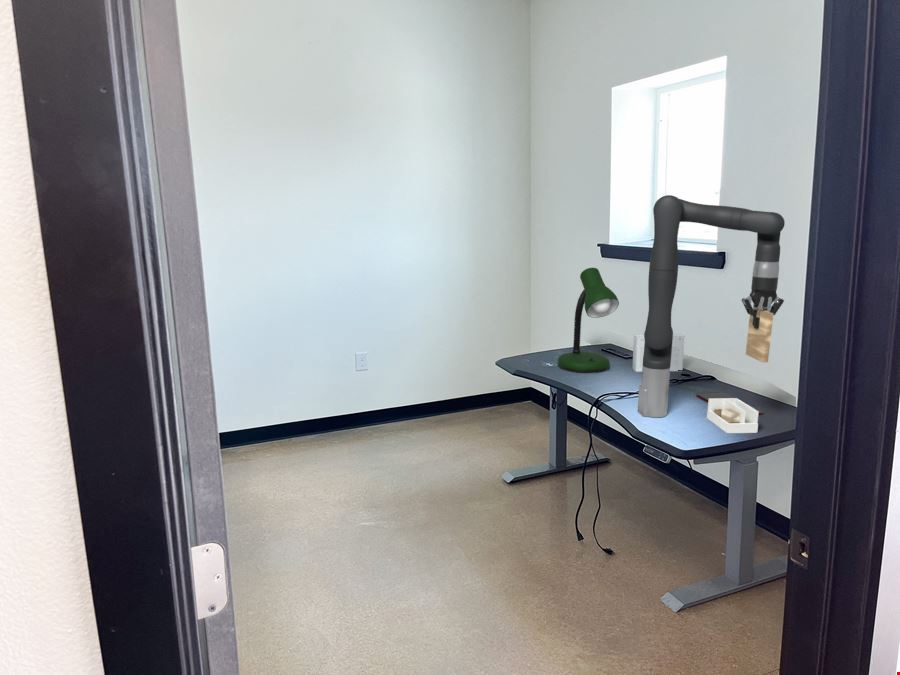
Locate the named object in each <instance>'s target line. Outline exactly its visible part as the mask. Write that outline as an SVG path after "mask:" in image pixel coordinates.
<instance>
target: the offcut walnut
mask: <svg viewBox="0 0 900 675" xmlns="http://www.w3.org/2000/svg"><path fill="white" fill-rule="evenodd" d="M714 413H715V414H717V415H718V416H719V417H721V413H722V409H714Z"/></svg>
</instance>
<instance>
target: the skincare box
mask: <svg viewBox="0 0 900 675" xmlns="http://www.w3.org/2000/svg"><path fill="white" fill-rule="evenodd" d="M644 344H645V338H644V334H633V351H632V370H633V371H634V372H635V373H642V367H643V355H644ZM684 347H685V335H683V334H679V333H678V334H676V333H675V334H674V333H673V341H672V354H671V365H670V372H679V371H678V370H683V367H684V354H685V351H684Z"/></svg>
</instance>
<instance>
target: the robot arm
mask: <svg viewBox="0 0 900 675" xmlns="http://www.w3.org/2000/svg"><path fill="white" fill-rule="evenodd" d="M652 211H653V225H654V226H653V228H654V230H653V231H654V232H653V233H654V234H653V243H652V248H651V254H650V260H649V269H648V279H647V281H648V282H647V283H648V286H647V287H648V290H647V291H648V292H647V293H648V294H647V295H648V315H647V320H646V325H645V328H644V329H645V330H644V334H643V335H644V338H645V344H644V355H643V367H642V372H641V383H640V385H638V398H637V399H638V400H637V412H638V413H639V414H640V415H642V417H648V418H649V417H650V418H664V417H666V416H667V414H668V403H669V402H668V401H669V388H670V376H671V371H670V365H671V354H672V341H673V334H674V331H673V327H672V311H673V310H672V309H673V303H674V300H675V299H674V298H675V296H676V295H675V294H676V290H677V285H678V284H677V283H678V274H679V273H678V272H679V250H678V249H679V248H678V237H679V228H680V224H681V223H695V224H703V225H707V226H710V227H711V226H712V227H715V228H716V227H717V228H719V229H727V230H734V231H742V232H745V231H747V232H751V233H756V234H757V235H756V240H757V242H756V243H757V244H756V249H755V256H754V257H755V258H754V265H753V268H752V276H751V277H752V278H751V286H750V287H751V288H750V289H751V291H750V293H749V296H747V297H746V298H745V297H743V298H742V299H741V302H742V304H743V306H744V308H745V311H746V313H747V315H749V316H750V315H752V316H753V323H752V325H753V326H754V328H756V329H758V328H759V322H760V318H759V317H760V313H761V310H764V311H767V312H770V313H773V316H776V314H777V313H778V311H779V309H780V308H781V306H782V305H783V304H784V303H785V299H784V298H781V297H779V296H778V294H777V290H778V284H779V275H780V274H779V273H780V258H781V256H780V255H781V245H780V240H781V231H783V229H785V222H786V221H785V218H784V217H783V216H782V215H781V214H780V213H778V212H773V211H762V210H752V209H748V208H743V207H736V206H729V205H713V204H703V203H696V202H692V201H688V200H686V199H682V198H679V197H677V196H676V195H672V194H671V195H670V194H668V195H667V194H666V195H663V196H662V197H661V196H660V197H659V199H657V200H656V201H655V203H654V206H653V208H652ZM752 303H753V305H752Z"/></svg>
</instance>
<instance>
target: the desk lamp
mask: <svg viewBox="0 0 900 675" xmlns="http://www.w3.org/2000/svg"><path fill="white" fill-rule="evenodd" d="M579 278H580V282H581V284H582V286H583V287H582V288H583V291H581V293H580V295H579V297H578V298H577V303H576V307H575V311H574V320H573V321H574V326H573V331H574V332H573V342H572V343H573V344H572V345H573V346H572V347H573V349H572V352H567V353H566V352H565V353H563V354H561V355H559V356H558V358H557V366H558V367H559V368H560V369H562V370H564V371H567V372H571V373H572V372H573V373H580V374H581V373H582V374H588V373H589V374H591V373H594V374H595V373H601V372H606V371H609V370H610V368H611V367H610V364H611V363H610V362H611V361H610V359H609V358H608V357H607V356H605V355H603V354H599V353H597V352H588V351H587V352H586V351H581V335H582V334H581V333H582V332H581V328H582V316H583V310H585V313H586V315H587V316H588V317H589V318H595V319H597V318H598V319H599V318H604V317H607V316H609V315H610V314H612V313H614V312H615V311H616V310H617V309H618V307H619V304H620V302H619V299H618V296H617V295H616V294H615V293H614V291H613V290H612V289H610V288H609V287H608V286H606V284H605V282H604V280H603V278H602V275H601V273H600V271H599V269H598V268H597V267H589V268H585V269H584V270H582V272H580V275H579Z"/></svg>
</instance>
